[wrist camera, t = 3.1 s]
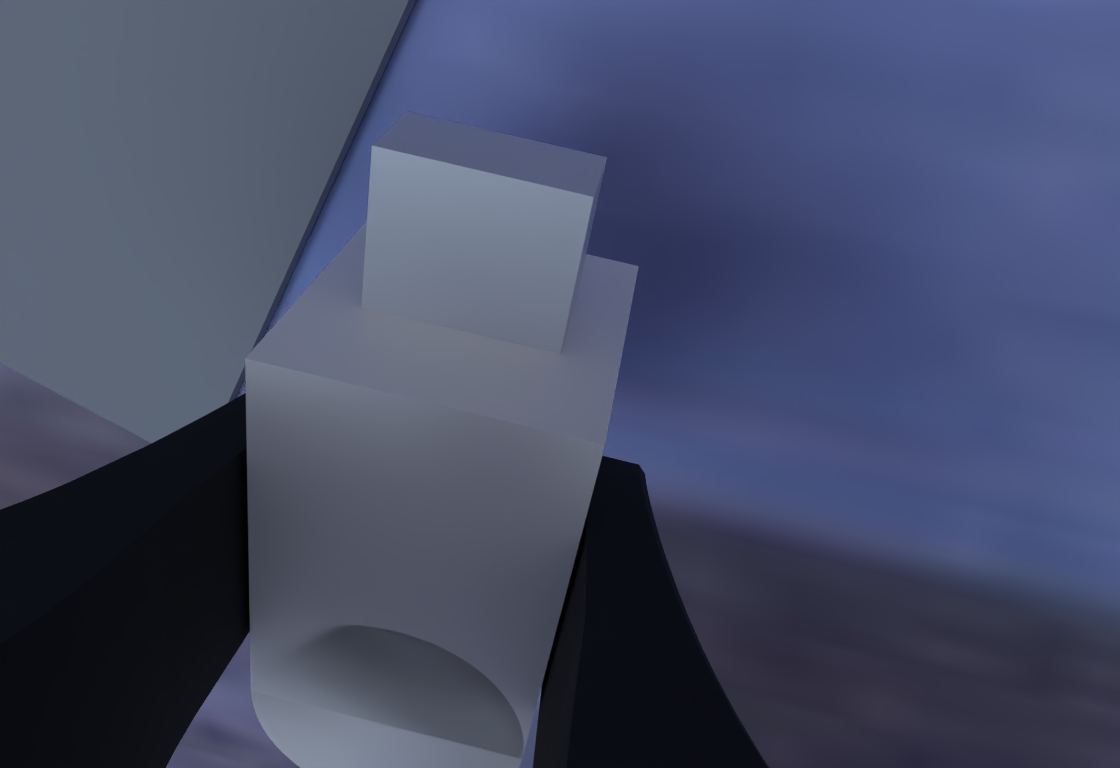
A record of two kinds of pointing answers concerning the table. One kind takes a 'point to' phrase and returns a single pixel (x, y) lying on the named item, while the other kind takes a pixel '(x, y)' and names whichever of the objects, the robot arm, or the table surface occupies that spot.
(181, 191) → the mat
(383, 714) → the connector
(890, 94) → the table surface
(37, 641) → the robot arm
